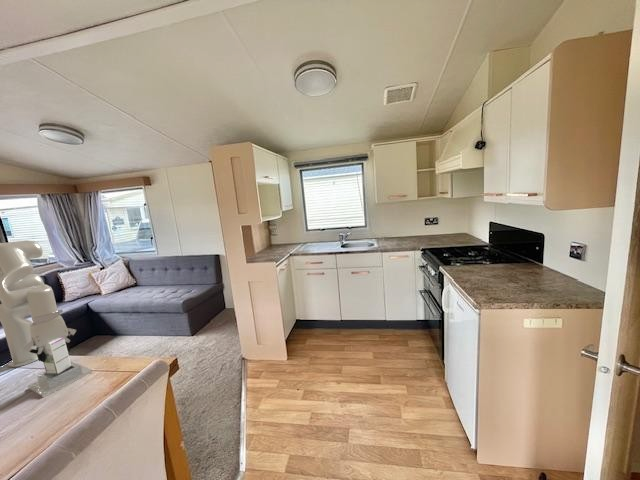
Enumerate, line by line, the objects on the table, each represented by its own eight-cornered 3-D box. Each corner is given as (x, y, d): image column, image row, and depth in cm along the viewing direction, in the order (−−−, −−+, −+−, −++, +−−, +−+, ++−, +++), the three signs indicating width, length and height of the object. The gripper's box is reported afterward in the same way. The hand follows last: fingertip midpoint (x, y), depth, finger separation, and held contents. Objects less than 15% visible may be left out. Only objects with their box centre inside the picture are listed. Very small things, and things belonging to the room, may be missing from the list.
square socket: (28, 388, 106) (26, 378, 106) (77, 365, 120) (75, 356, 120) (42, 397, 100) (40, 387, 100) (92, 372, 114) (90, 363, 114)
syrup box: (72, 365, 112) (65, 335, 110) (57, 374, 106) (49, 342, 104) (60, 365, 113) (53, 335, 111) (45, 374, 107) (37, 342, 105)
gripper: (68, 307, 115) (77, 343, 118) (11, 325, 100) (22, 366, 103) (76, 309, 112) (85, 346, 115) (18, 328, 97) (29, 370, 99)
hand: (55, 355), depth 109 cm, fingers closed on syrup box, 7 cm apart
